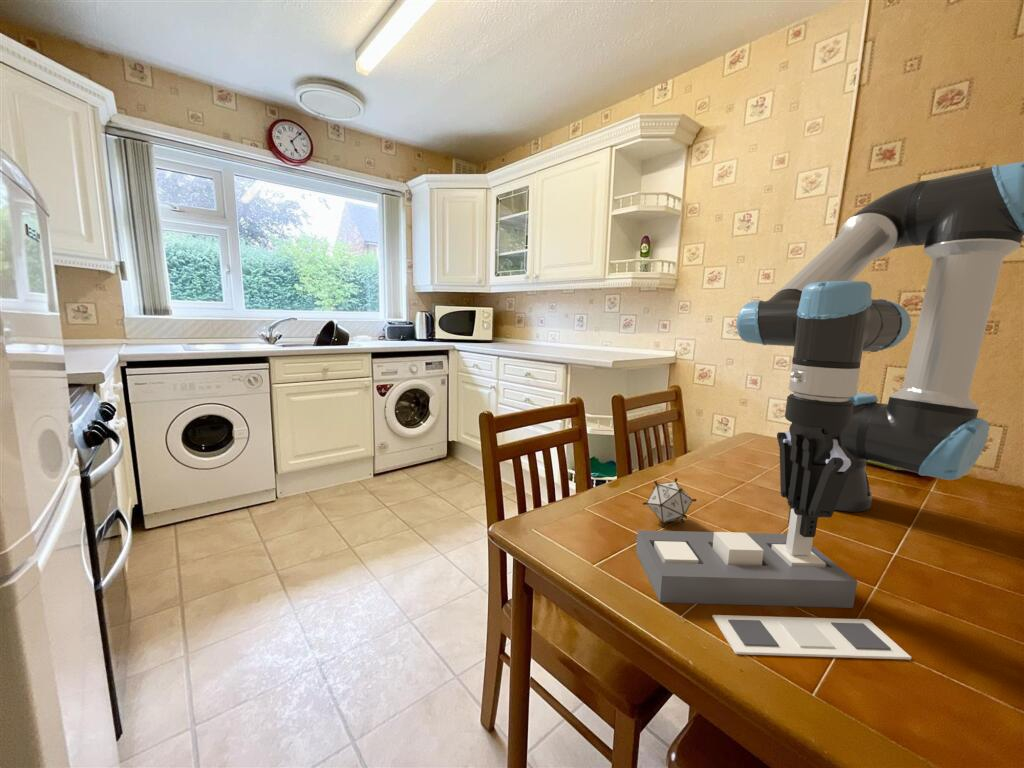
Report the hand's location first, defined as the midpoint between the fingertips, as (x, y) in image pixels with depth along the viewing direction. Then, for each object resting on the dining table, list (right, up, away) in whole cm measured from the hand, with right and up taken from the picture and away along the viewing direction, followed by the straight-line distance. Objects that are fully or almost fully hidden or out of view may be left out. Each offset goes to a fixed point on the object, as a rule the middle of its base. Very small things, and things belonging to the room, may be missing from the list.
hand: (797, 552), depth 61 cm
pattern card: (-6, -6, -10) cm, 14 cm away
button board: (-9, -4, +1) cm, 10 cm away
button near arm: (0, -3, +1) cm, 3 cm away
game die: (-13, -2, +18) cm, 22 cm away
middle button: (-9, -1, 0) cm, 9 cm away
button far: (-18, -3, +1) cm, 18 cm away
